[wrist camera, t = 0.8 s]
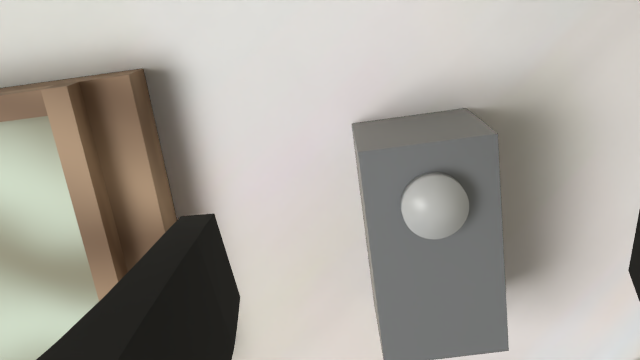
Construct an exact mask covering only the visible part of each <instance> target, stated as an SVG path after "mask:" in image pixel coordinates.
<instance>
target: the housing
mask: <svg viewBox="0 0 640 360" xmlns="http://www.w3.org/2000/svg"><path fill="white" fill-rule="evenodd" d="M352 131H353V139H354V147H355V155H356V163H357V171H358V179H359V187H360V195H361V203H362V211H363V219H364V227H365V235H366V243H367V251H368V259H369V267H370V275H371V282H372V290H373V298H374V306H375V312H376V318H377V324H378V330H379V336H380V341H381V347H382V353H383V359H384V360H434V359H443V358H451V357H460V356H468V355H477V354H485V353H494V352H502V351H509V348H508V328H507V308H506V288H505V268H504V249H503V229H502V209H501V189H500V169H499V149H498V133H496V132H495V131H494V130H493V129H491V128H490V127H489V126H488V125H486V124H485V123H484V122H483V121H481V120H480V119H479V118H478V117H477V116H475V115H474V114H473V113H472V112H470V111H469V110H468V109H467V108H463V109H456V110H448V111H441V112H434V113H426V114H419V115H412V116H404V117H397V118H390V119H382V120H375V121H368V122H360V123H353V124H352Z"/></svg>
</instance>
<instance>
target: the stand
mask: <svg viewBox="0 0 640 360" xmlns="http://www.w3.org/2000/svg"><path fill="white" fill-rule="evenodd" d="M176 221H177V218H176V214H175V209H174V205H173V200H172V196H171V191H170V187H169V182H168V178H167V173H166V169H165V164H164V160H163V155H162V151H161V146H160V142H159V137H158V133H157V128H156V124H155V119H154V115H153V110H152V106H151V101H150V97H149V92H148V88H147V83H146V79H145V74H144V70H143V69H136V70H129V71H122V72H114V73H107V74H100V75H92V76H85V77H78V78H71V79H63V80H56V81H49V82H42V83H34V84H27V85H20V86H13V87H5V88H0V360H36V359H37V358H39V357H40V356H41V355H42V354H43V353H44V352H46V351H47V350H48V349H49V348H50V347H51V346H52V345H53V344H55V343H56V342H57V341H58V340H59V339H60V338H61V337H62V336H63V335H64V334H65V333H66V332H68V331H69V330H70V329H71V328H72V327H73V326H74V325H75V324H76V323H77V322H78V321H79V320H80V319H81V318H82V317H83V316H84V315H85V314H86V313H87V312H89V311H90V310H91V309H92V308H93V307H94V306H95V305H96V304H97V303H98V302H99V301H100V300H101V299H102V298H103V297H104V296H105V295H106V294H107V293H108V292H109V291H110V290H111V289H112V288H113V287H114V286H115V285H116V284H117V283H118V282H119V281H120V280H121V279H122V278H123V277H124V276H125V275H126V274H127V272H128V271H129V270H130V269H131V268H132V267H133V266H134V265H135V264H136V263H137V262H138V261H139V260H140V259H141V258H142V257H143V256H144V255H145V254H146V253H147V251H148V250H149V249H150V248H151V247H152V246H153V245H154V244H155V243H156V242H157V241H158V240H159V239H160V238H161V237H162V236H163V234H164V233H165V232H166V231H167V230H168V229H169V228H170V227H171V226H172V225H173V224H174V223H175V222H176Z"/></svg>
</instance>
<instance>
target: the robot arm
mask: <svg viewBox="0 0 640 360" xmlns="http://www.w3.org/2000/svg"><path fill="white" fill-rule="evenodd" d="M629 273H630V276H631V279H632V282H633V284H634V287H635V290H636V293H637V295H638V298H639V301H640V211H639V216H638V222H637V227H636V233H635V238H634V244H633V249H632V255H631V260H630V265H629ZM239 302H240V295H239V292H238V289H237V285H236V282H235V279H234V276H233V273H232V269H231V266H230V263H229V260H228V257H227V253H226V250H225V247H224V244H223V241H222V237H221V234H220V231H219V228H218V225H217V221H216V218H215V215H214V214H205V215H194V216H182V217H180V218H179V219H178V220H177V221H176V222H175V223H174V224H173V225H172V226H171V227H170V228H169V229H168V230H167V231H166V232H165V233H164V234H163V236H162V237H161V238H160V239H159V240H158V241H157V242H156V243H155V244H154V245H153V246H152V247H151V248H150V249H149V250H148V251H147V253H146V254H145V255H144V256H143V257H142V258H141V259H140V260H139V261H138V262H137V263H136V264H135V265H134V266H133V267H132V268H131V269H130V270H129V271H128V272H127V274H126V275H125V276H124V277H123V278H122V279H121V280H120V281H119V282H118V283H117V284H116V285H115V286H114V287H113V288H112V289H111V290H110V291H109V292H108V293H107V294H106V295H105V296H104V297H103V298H102V299H101V300H100V301H99V302H98V303H97V304H96V305H95V306H94V307H93V308H92V309H91V310H90V311H89V312H87V313H86V314H85V315H84V316H83V317H82V318H81V319H80V320H79V321H78V322H77V323H76V324H75V325H74V326H73V327H72V328H71V329H70V330H69V331H68V332H66V333H65V334H64V335H63V336H62V337H61V338H60V339H59V340H58V341H57V342H56V343H55V344H53V345H52V346H51V347H50V348H49V349H48V350H47V351H46V352H44V353H43V354H42V355H41V356H40V357H39V358H37V359H36V360H231V359H232V355H233V351H234V345H235V337H236V330H237V321H238V312H239Z"/></svg>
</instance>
